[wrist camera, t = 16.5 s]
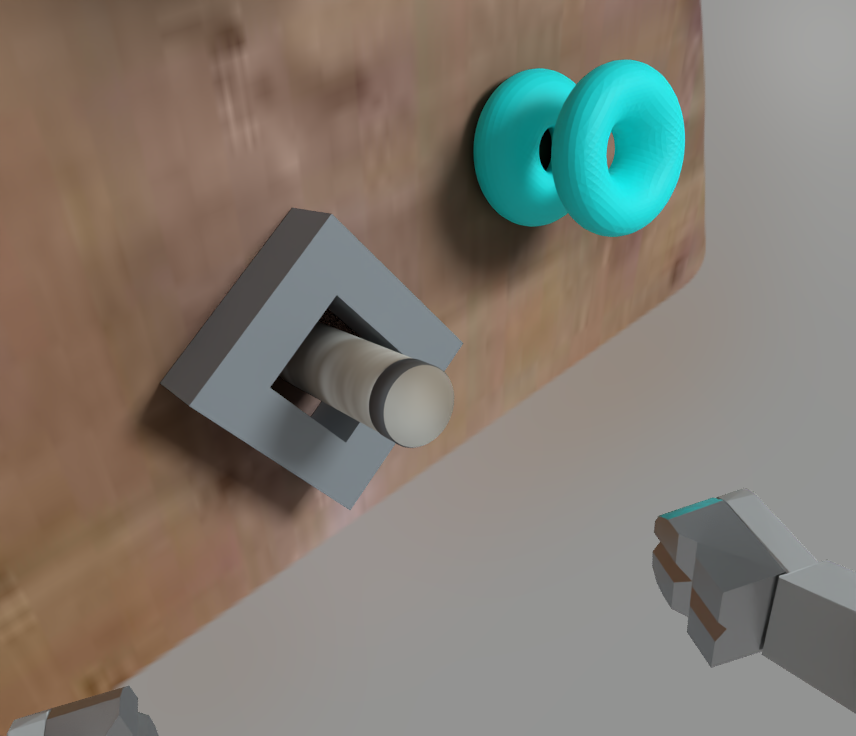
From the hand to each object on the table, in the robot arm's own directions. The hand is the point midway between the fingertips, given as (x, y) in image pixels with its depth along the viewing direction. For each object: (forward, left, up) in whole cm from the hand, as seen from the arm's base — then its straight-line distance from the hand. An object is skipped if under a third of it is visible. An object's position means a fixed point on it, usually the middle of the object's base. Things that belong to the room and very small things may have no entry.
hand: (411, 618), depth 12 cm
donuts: (+26, -18, -32) cm, 45 cm away
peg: (+6, -14, -32) cm, 35 cm away
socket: (+6, -14, -32) cm, 35 cm away
